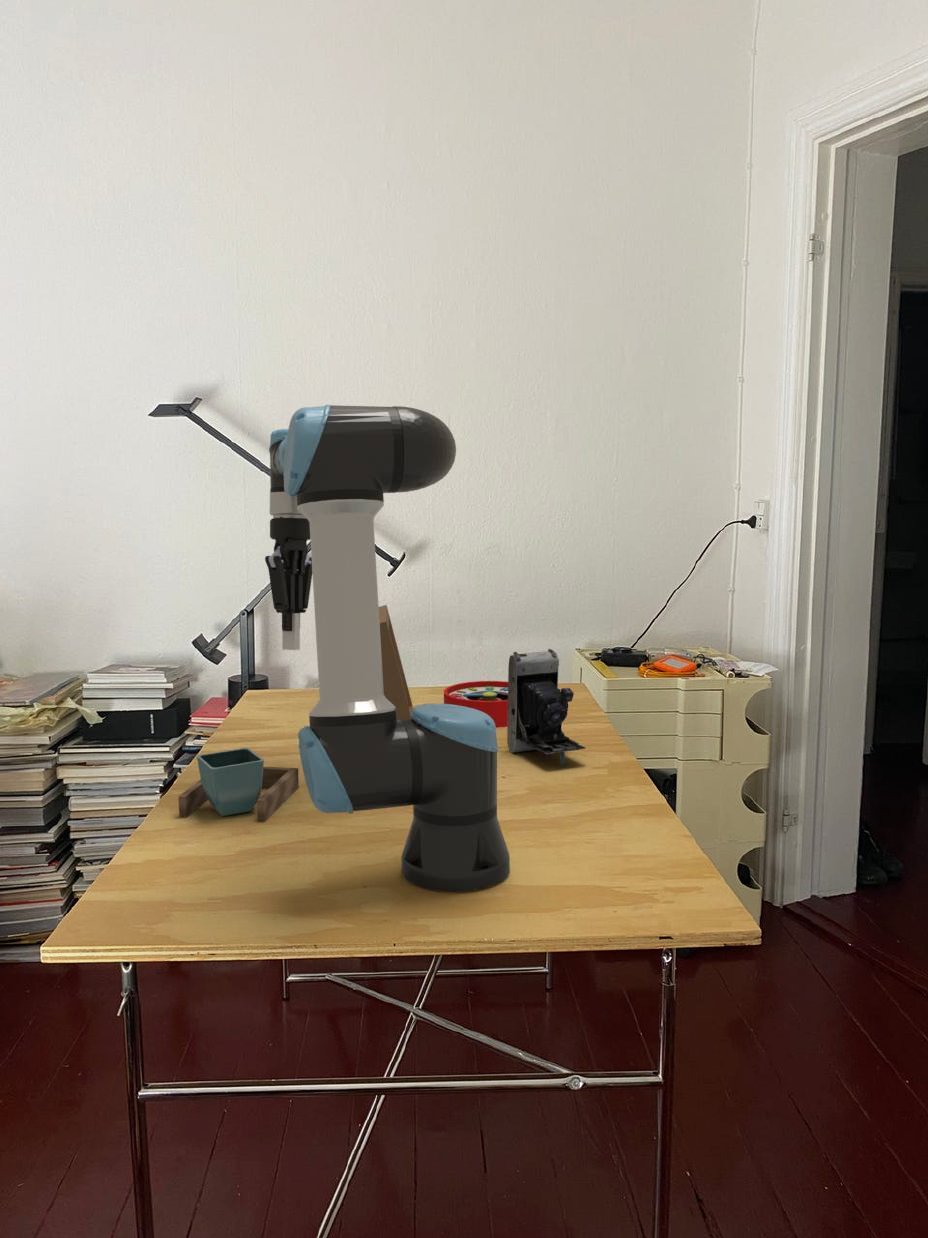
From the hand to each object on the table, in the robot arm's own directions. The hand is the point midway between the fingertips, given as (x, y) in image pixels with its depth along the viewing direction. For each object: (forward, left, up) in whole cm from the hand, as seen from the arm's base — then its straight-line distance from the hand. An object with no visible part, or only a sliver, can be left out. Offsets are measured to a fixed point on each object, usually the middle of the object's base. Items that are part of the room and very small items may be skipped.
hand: (291, 649), depth 191 cm
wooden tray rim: (-17, +4, -23) cm, 29 cm away
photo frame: (+29, -9, -23) cm, 38 cm away
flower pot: (-21, +4, -23) cm, 32 cm away
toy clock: (+45, -30, -23) cm, 59 cm away
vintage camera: (+15, -45, -23) cm, 53 cm away
